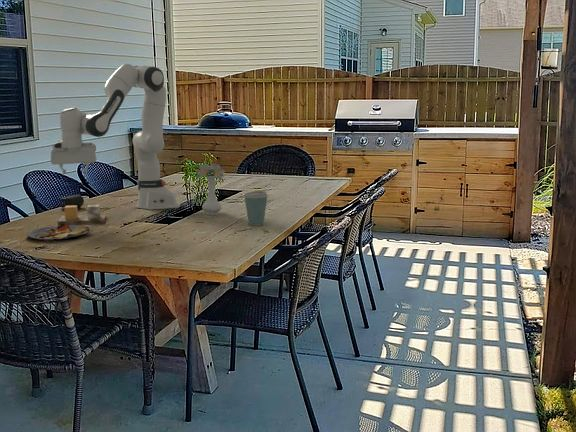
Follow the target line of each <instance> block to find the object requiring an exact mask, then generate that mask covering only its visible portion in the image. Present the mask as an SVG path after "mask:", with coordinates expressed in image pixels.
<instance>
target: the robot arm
mask: <svg viewBox="0 0 576 432" xmlns="http://www.w3.org/2000/svg"><path fill="white" fill-rule="evenodd" d="M118 67H119V68H117V69H116V70H115V71H114V72H113V73H112V74H111V75H110V77H109V78H108V80H106V82H105V84H104V93H105V95H106V97H107V100H106V101H105V104H104V105H103V106H102V108H101V109H100V111H99V112H97V113H95V114H89V113H86V112H83V111H81V110H80V109H78V107H68V108H65V109H63V110H62V111H60V115H59V116H60V117H59V118H60V119H59V120H60V130H61V133H62V134H61V140H58V141H56V142H54V143H52V144H51V147H52V149H51V151H50V163H51V164H52V165H59V168H60V170H61V172H62V174H63V175H64V174H65V175H66V174H67V169H65V168H64V165H69V164H71V165H74V164H85V166H86V167H85V168H83V169H82V170H83V173H85V174H86V173H88V168H89V166H90V164H91V163H96V162H97V155H96V151H97V145H96V144H95V143H93V142H83V137H82V136H83V135H85V136H86V135H87V136H93V137H97V138H101V137H103V136H105V135H106V134H107V133H108V131H109V129H110V125H111V122H112V120H113V118H114V117H115V115H116V114H117V112H118V111H119V109H120V107H121V106H122V104H123V103H124V101H125V98H126V97H127V95H128V94H129V93H130V92H131V90H132V88H133V87H134V88H140V89H143V90H144V98H143V102H142V109H141V114H140V115H141V117H140V119H141V129H142V130H141V131H138V132H137V133H135V134H134V135H133V137H132V145H133V147H134V151H135V156H136V162H137V171H138V172H137V173H138V180H137V190H138V196H137V202H136V203H137V204H136V208H138V209H143V210H145V209H146V210H162V209H177V208H180V207H181V203H180V202H178V201H177V199H176V195H175V194H174V192H173V191H171V190H170V189H168V188H167V187H166V181H165V180H163V179H161V165H160V161H159V159H158V155H157V154H158V153H161V152H162V150H163V149H164V148H165V141H164V140H165V139H164V128H163V127H164V115H165V111H166V109H165V108H166V103H167V102H166V101H167V88H166V87H165V85H164V84H165V75H164V73H163V71H162V69H160V68H159V67H157V66H149V65H132V64H130V63H124V64H121V66H118Z"/></svg>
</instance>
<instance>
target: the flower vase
mask: <svg viewBox="0 0 576 432" xmlns="http://www.w3.org/2000/svg"><path fill="white" fill-rule="evenodd" d="M225 173H226V170H224V169H223V168H221V165H220V164H218V163H217V164H216V163H211V164H210V165H208V164H207V163H206V162H205V163H204V164H199V169H197V170H196V175H197V177H196V180H199V179H202V178H203V177H204V176H205V177H206V178H207V182H208V183H207V185H208V190H207V193H208V194H207V198H206V199H205V201H204V203H203V204H202V207H201V208H202V210H203V212H205V215H207V216H215V215H219V213H220V211H221V210H222V205H221V203H220V202H219V201H218V199H217V197H216V190H215V189H216V188H215V187H216V186H215V184H216V181H215V180H216V178H217V179H218V180H220V181H221V180H222V179H223V178H224V176H225V175H224V174H225Z"/></svg>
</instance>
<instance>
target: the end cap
mask: <svg viewBox="0 0 576 432" xmlns="http://www.w3.org/2000/svg"><path fill="white" fill-rule="evenodd" d="M59 199H60V200H59V201H60V208H61V211H65V209H64V207H65V206H72V205H77V209H79V208H81V207H82V206H83V205H84V203H85V199H84V197H83V196H82V195H81V194H76V195H68V196H62V197H60V198H59ZM61 202H63V203H61Z"/></svg>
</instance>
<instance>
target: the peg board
mask: <svg viewBox="0 0 576 432" xmlns="http://www.w3.org/2000/svg"><path fill="white" fill-rule="evenodd" d="M100 209H101V208H100V204H88V205H87V206H86V213H87V214H78V218H77V219H65V215H62V216H61V217H60V218H59V219H58V220H57V226H60V225H61V224H68V225H87V224H88V225H89V224H91V225H92V224H93V225H94V224H95V225H96V224H105V222H106V219H107V214H105V213H104V214H101V210H100Z"/></svg>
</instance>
